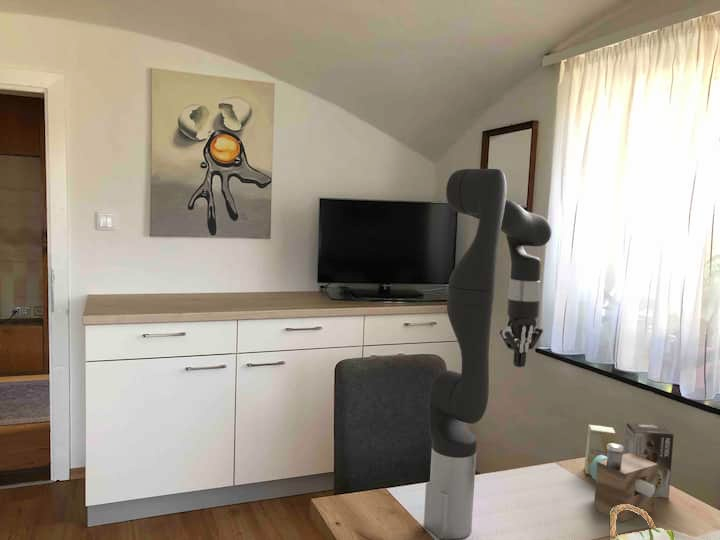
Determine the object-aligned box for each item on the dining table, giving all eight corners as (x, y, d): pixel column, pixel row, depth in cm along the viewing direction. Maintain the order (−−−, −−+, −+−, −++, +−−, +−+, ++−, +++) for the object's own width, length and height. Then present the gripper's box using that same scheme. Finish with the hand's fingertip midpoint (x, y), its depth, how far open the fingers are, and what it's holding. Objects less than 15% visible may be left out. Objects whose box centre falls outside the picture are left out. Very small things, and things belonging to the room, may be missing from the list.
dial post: (615, 471, 128) (617, 450, 128) (602, 465, 131) (603, 444, 131) (625, 468, 130) (627, 447, 130) (612, 462, 133) (613, 442, 133)
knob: (641, 506, 127) (643, 480, 127) (589, 481, 139) (591, 457, 138) (658, 501, 130) (660, 475, 130) (605, 476, 142) (607, 452, 141)
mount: (620, 521, 128) (624, 473, 127) (593, 507, 134) (597, 461, 133) (653, 509, 134) (658, 464, 133) (626, 496, 140) (630, 452, 139)
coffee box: (658, 486, 147) (664, 424, 145) (669, 498, 140) (675, 434, 139) (621, 483, 147) (626, 421, 146) (630, 495, 141) (635, 431, 140)
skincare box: (586, 474, 152) (589, 429, 151) (583, 468, 156) (587, 423, 155) (612, 478, 150) (616, 432, 149) (609, 471, 154) (613, 426, 153)
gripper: (515, 301, 138) (510, 372, 139) (554, 299, 144) (549, 367, 146) (493, 296, 144) (489, 365, 146) (531, 295, 151) (527, 360, 152)
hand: (519, 366), depth 146 cm, fingers closed
